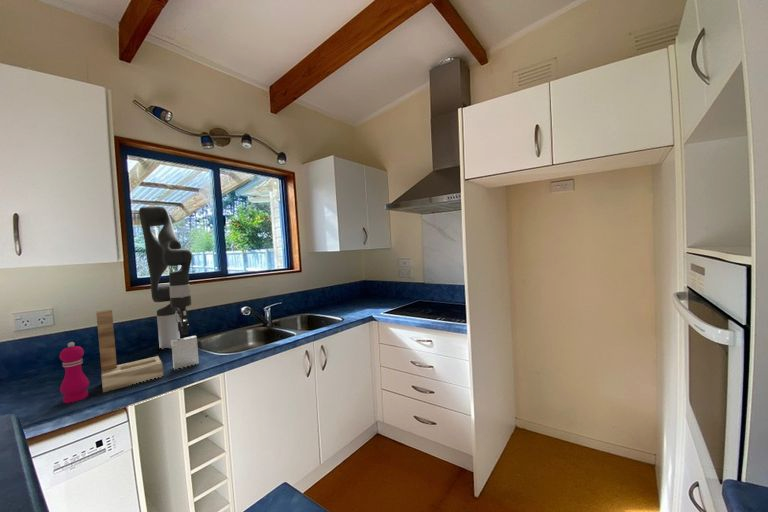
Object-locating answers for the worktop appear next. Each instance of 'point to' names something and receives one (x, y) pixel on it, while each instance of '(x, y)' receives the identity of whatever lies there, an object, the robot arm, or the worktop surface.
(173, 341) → the grey stone slab
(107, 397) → the worktop surface
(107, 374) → the wooden l-shaped stand
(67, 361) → the pepper mill
